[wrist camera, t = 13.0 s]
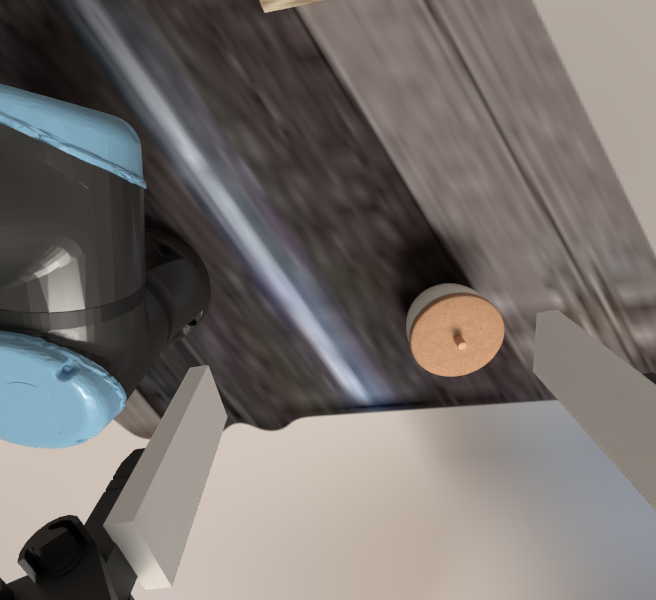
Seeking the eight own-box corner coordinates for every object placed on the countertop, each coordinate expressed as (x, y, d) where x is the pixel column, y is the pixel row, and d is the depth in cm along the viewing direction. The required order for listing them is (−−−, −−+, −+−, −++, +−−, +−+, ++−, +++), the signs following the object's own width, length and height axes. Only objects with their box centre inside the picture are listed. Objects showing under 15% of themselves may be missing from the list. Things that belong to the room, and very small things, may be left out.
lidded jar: (484, 330, 51) (517, 370, 42) (409, 352, 52) (426, 396, 44) (470, 259, 47) (504, 288, 38) (388, 286, 48) (403, 320, 39)
